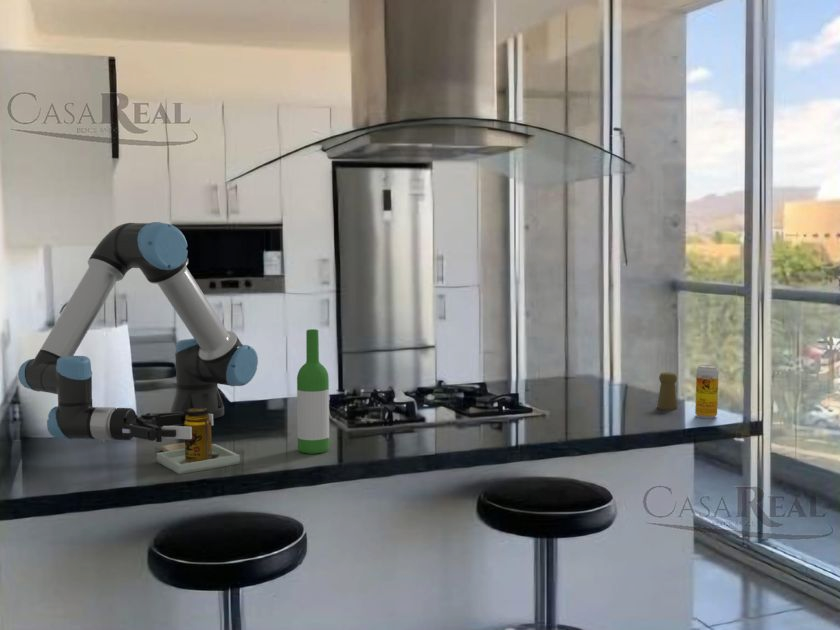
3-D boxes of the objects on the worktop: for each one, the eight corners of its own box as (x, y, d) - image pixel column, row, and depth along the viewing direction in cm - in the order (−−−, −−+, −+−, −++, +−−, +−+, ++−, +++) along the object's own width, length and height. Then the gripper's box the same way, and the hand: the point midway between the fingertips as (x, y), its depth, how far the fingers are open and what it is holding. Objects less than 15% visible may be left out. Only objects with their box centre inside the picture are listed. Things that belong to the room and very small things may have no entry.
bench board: (195, 444, 214) (195, 434, 214) (209, 450, 208) (208, 440, 208) (161, 450, 209) (161, 440, 209) (173, 456, 203) (173, 446, 202)
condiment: (179, 464, 194) (178, 412, 193) (190, 454, 202) (188, 405, 201) (210, 464, 194) (209, 412, 193) (220, 454, 202) (219, 405, 201)
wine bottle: (291, 451, 207) (289, 330, 205) (312, 445, 214) (310, 327, 211) (315, 456, 203) (314, 332, 200) (335, 449, 210) (334, 329, 207)
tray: (215, 451, 207) (214, 443, 207) (239, 463, 197) (239, 455, 196) (156, 461, 198) (156, 453, 198) (179, 474, 188) (179, 465, 187)
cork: (679, 409, 259) (680, 374, 258) (659, 409, 259) (660, 374, 258) (674, 405, 265) (675, 371, 264) (654, 405, 265) (655, 370, 264)
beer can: (695, 418, 247) (696, 367, 245) (695, 413, 252) (696, 364, 251) (717, 419, 245) (719, 368, 244) (716, 415, 251) (718, 365, 249)
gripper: (139, 427, 212) (221, 429, 209) (89, 452, 187) (181, 455, 185) (138, 398, 211) (220, 400, 208) (88, 419, 186) (180, 421, 184)
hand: (202, 426), depth 196 cm, fingers open, 13 cm apart
